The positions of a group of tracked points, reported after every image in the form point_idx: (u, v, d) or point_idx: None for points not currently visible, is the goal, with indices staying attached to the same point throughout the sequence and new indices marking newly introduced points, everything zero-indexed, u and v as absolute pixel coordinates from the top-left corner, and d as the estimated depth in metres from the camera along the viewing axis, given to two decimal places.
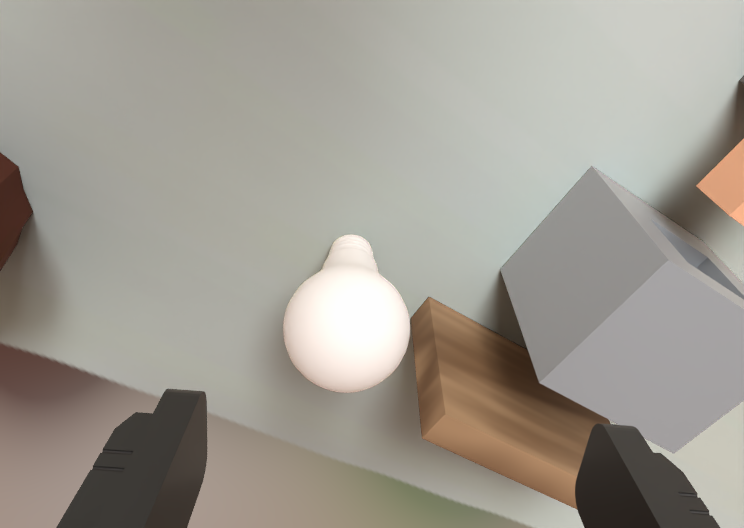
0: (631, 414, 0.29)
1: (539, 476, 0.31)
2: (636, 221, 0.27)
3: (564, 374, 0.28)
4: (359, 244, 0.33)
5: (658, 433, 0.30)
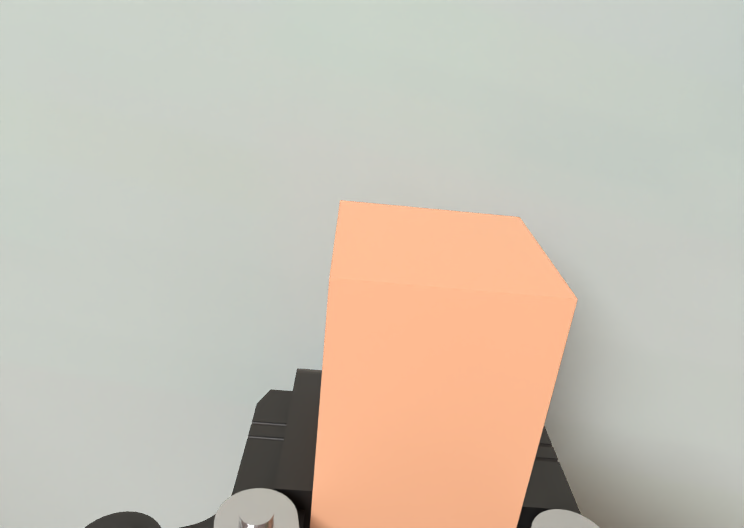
0: None
1: None
2: None
3: None
4: None
5: None
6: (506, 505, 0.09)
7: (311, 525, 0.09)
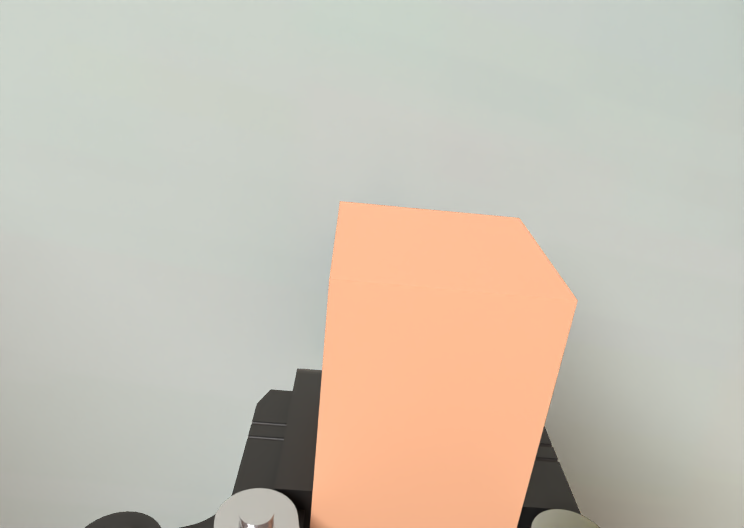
0: None
1: None
2: None
3: None
4: None
5: None
6: (506, 506, 0.09)
7: (311, 526, 0.09)
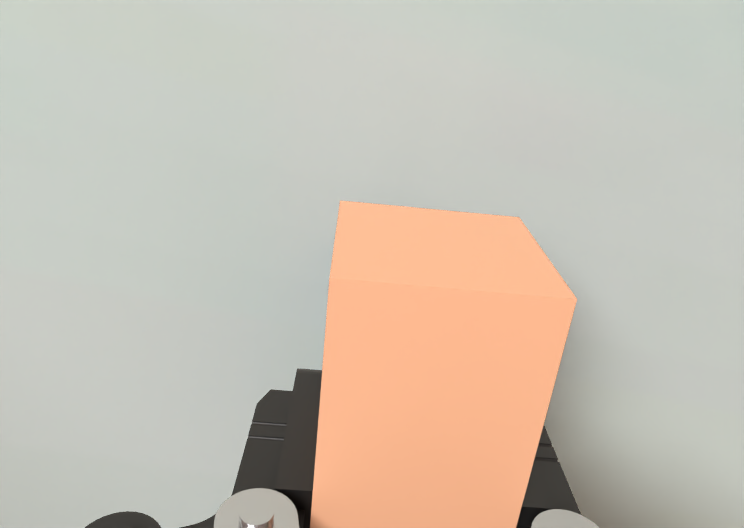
0: None
1: None
2: None
3: None
4: None
5: None
6: (506, 505, 0.09)
7: (311, 525, 0.09)
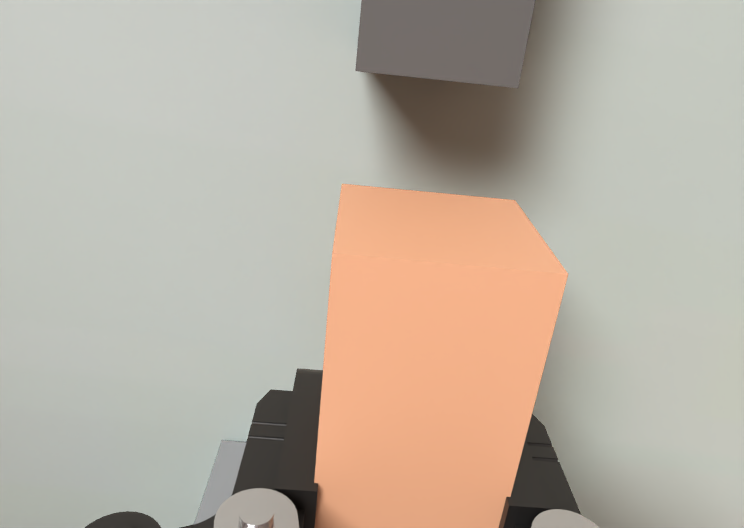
0: None
1: None
2: None
3: None
4: None
5: None
6: (500, 474, 0.10)
7: None
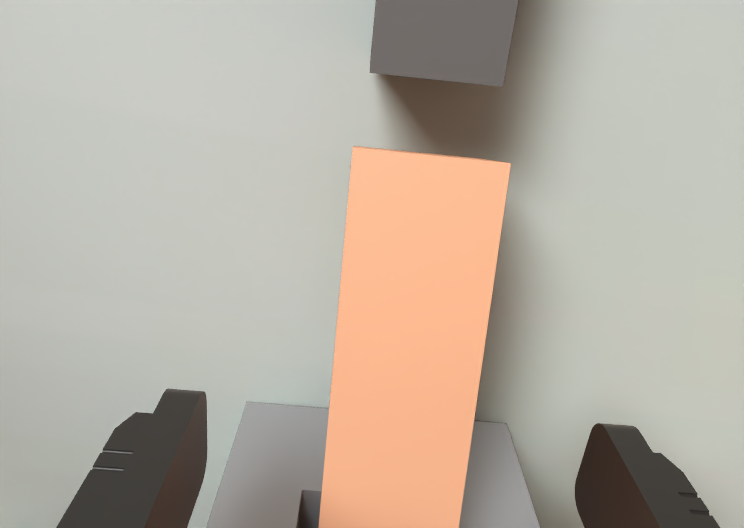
0: None
1: None
2: None
3: None
4: None
5: None
6: (475, 330, 0.13)
7: (335, 348, 0.13)
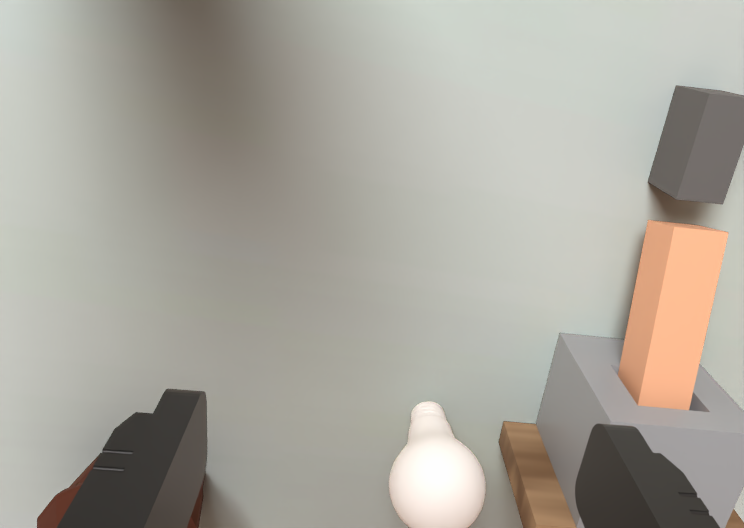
0: None
1: None
2: (590, 386, 0.37)
3: None
4: (428, 409, 0.43)
5: None
6: (711, 292, 0.35)
7: (660, 298, 0.35)
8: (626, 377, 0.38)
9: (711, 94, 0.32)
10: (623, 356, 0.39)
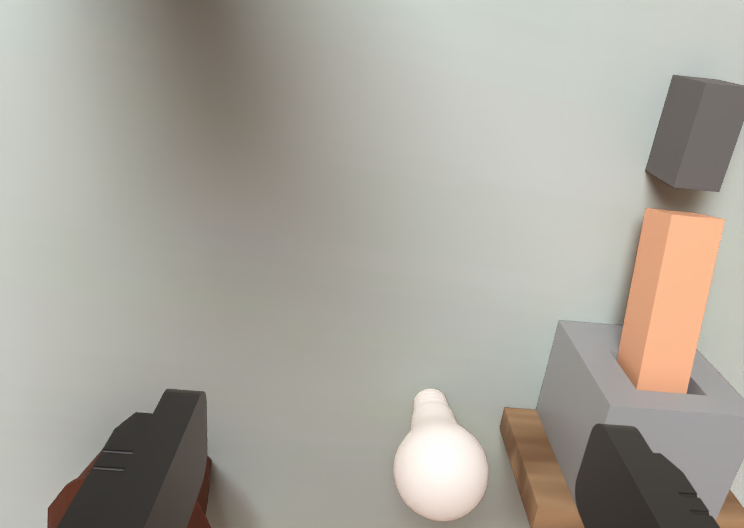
0: None
1: None
2: (590, 371, 0.37)
3: None
4: (431, 396, 0.44)
5: None
6: (707, 278, 0.36)
7: (658, 284, 0.36)
8: (625, 362, 0.39)
9: (708, 83, 0.33)
10: (622, 342, 0.40)
